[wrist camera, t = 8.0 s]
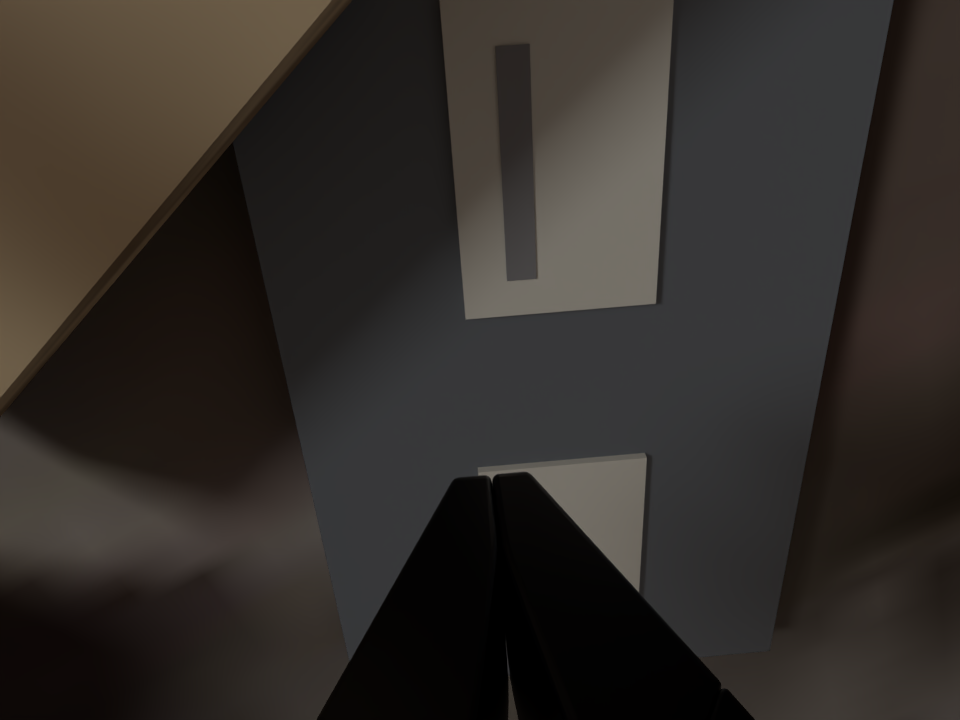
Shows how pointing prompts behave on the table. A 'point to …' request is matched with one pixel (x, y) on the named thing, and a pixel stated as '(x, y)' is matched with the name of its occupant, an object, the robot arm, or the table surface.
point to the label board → (566, 275)
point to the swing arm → (117, 139)
